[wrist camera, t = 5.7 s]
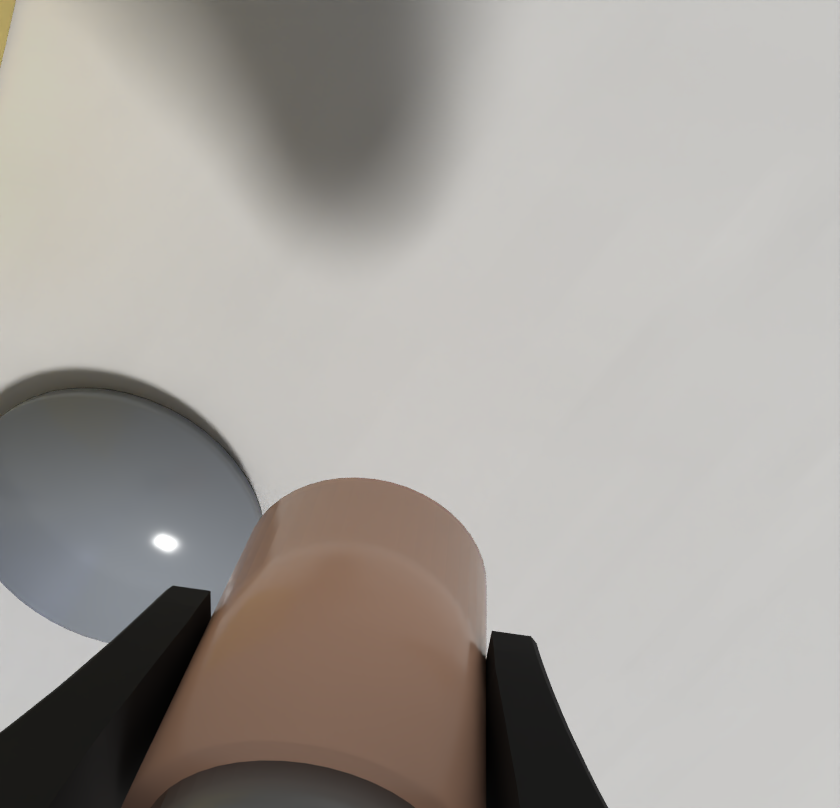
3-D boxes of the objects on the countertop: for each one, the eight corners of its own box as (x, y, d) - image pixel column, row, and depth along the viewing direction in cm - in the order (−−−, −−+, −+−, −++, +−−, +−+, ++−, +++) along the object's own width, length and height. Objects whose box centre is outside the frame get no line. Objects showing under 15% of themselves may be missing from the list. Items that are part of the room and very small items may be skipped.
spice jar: (505, 497, 12) (517, 849, 7) (468, 686, 14) (457, 1074, 9) (244, 461, 12) (61, 781, 7) (244, 654, 14) (100, 1018, 9)
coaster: (263, 651, 24) (258, 665, 24) (-3, 612, 25) (-14, 626, 24) (267, 411, 20) (261, 421, 20) (-51, 367, 21) (-66, 376, 20)
